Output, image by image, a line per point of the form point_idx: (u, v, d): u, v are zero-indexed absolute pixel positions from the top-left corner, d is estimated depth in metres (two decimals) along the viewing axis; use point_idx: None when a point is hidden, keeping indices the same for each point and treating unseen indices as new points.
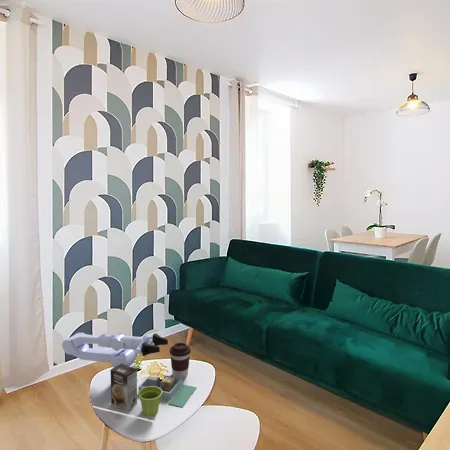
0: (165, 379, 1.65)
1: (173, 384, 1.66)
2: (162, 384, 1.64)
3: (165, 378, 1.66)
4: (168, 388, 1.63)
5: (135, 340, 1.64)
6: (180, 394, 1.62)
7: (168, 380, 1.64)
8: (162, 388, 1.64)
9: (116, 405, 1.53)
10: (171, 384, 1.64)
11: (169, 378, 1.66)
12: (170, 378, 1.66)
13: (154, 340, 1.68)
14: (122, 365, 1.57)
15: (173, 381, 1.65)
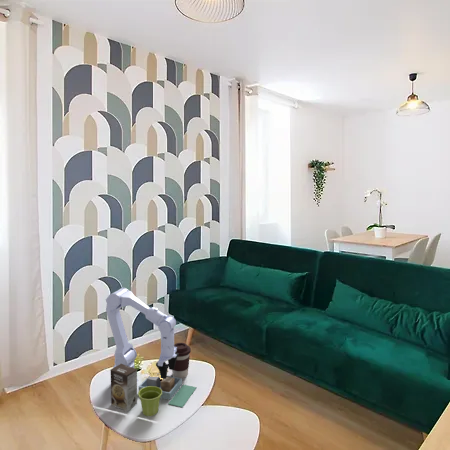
0: (165, 379, 1.65)
1: (173, 384, 1.66)
2: (162, 384, 1.64)
3: None
4: (168, 388, 1.63)
5: (170, 348, 1.61)
6: (180, 394, 1.62)
7: (168, 380, 1.64)
8: (162, 388, 1.64)
9: (116, 405, 1.53)
10: (171, 384, 1.64)
11: (169, 378, 1.66)
12: (170, 378, 1.66)
13: None
14: (122, 365, 1.57)
15: (173, 381, 1.65)
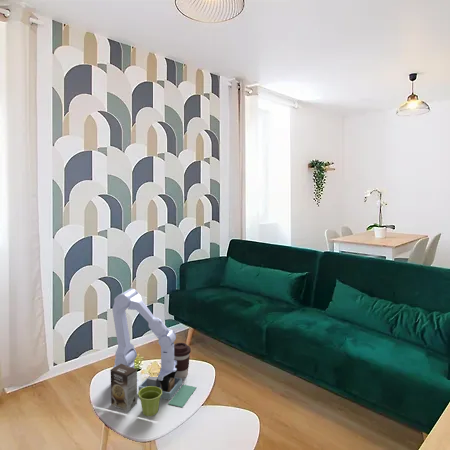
0: None
1: (173, 384, 1.66)
2: None
3: None
4: (168, 388, 1.63)
5: (170, 363, 1.61)
6: (180, 394, 1.62)
7: None
8: None
9: (116, 405, 1.53)
10: (171, 384, 1.64)
11: None
12: (170, 378, 1.66)
13: None
14: (122, 365, 1.57)
15: (173, 381, 1.65)
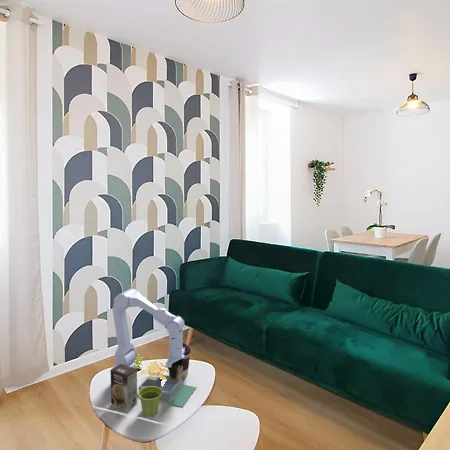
0: None
1: (181, 372, 1.63)
2: None
3: None
4: (176, 376, 1.60)
5: (179, 349, 1.58)
6: (180, 394, 1.62)
7: None
8: (170, 376, 1.61)
9: (116, 405, 1.53)
10: (179, 371, 1.61)
11: None
12: (178, 366, 1.63)
13: None
14: (122, 365, 1.57)
15: (181, 369, 1.62)
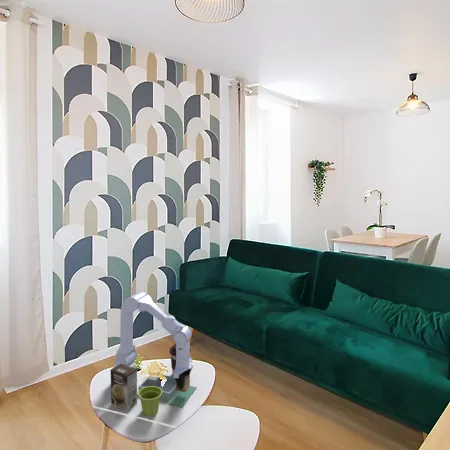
0: None
1: (188, 382, 1.61)
2: None
3: None
4: None
5: (186, 360, 1.57)
6: (180, 394, 1.62)
7: None
8: (177, 386, 1.59)
9: (116, 405, 1.53)
10: (186, 382, 1.59)
11: None
12: None
13: None
14: (122, 365, 1.57)
15: (188, 379, 1.61)
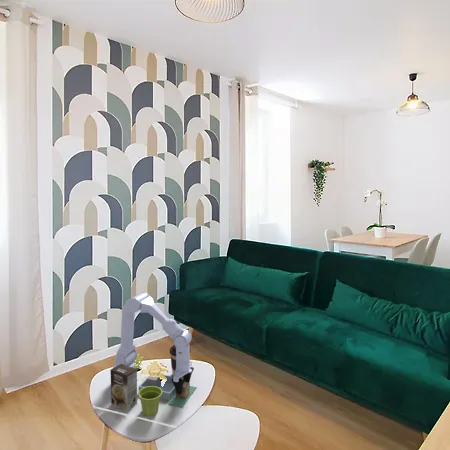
0: None
1: (188, 389, 1.62)
2: None
3: None
4: (183, 393, 1.59)
5: (186, 363, 1.57)
6: None
7: (183, 385, 1.60)
8: None
9: (116, 405, 1.53)
10: (186, 389, 1.60)
11: (184, 382, 1.62)
12: (185, 383, 1.62)
13: None
14: (122, 365, 1.57)
15: (188, 386, 1.62)
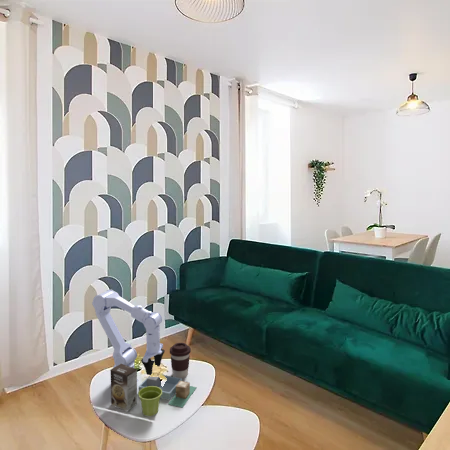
0: (180, 384, 1.61)
1: (188, 389, 1.62)
2: (177, 389, 1.60)
3: (180, 382, 1.62)
4: (183, 393, 1.59)
5: (156, 345, 1.61)
6: None
7: (183, 385, 1.60)
8: (177, 393, 1.60)
9: (116, 405, 1.53)
10: (186, 389, 1.60)
11: (184, 382, 1.62)
12: (185, 383, 1.62)
13: None
14: (122, 365, 1.57)
15: (188, 386, 1.62)
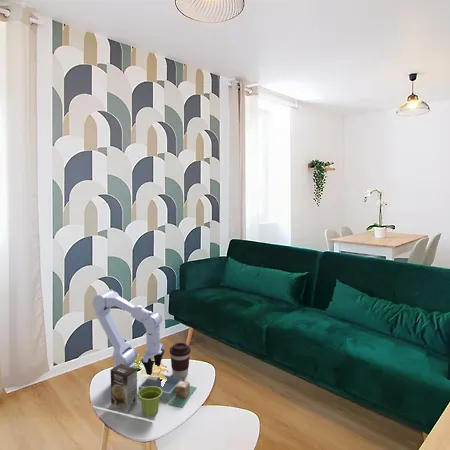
0: (180, 384, 1.61)
1: (188, 389, 1.62)
2: (177, 389, 1.60)
3: (180, 382, 1.62)
4: (183, 393, 1.59)
5: (156, 345, 1.61)
6: None
7: (183, 385, 1.60)
8: (177, 393, 1.60)
9: (116, 405, 1.53)
10: (186, 389, 1.60)
11: (184, 382, 1.62)
12: (185, 383, 1.62)
13: None
14: (122, 365, 1.57)
15: (188, 386, 1.62)
